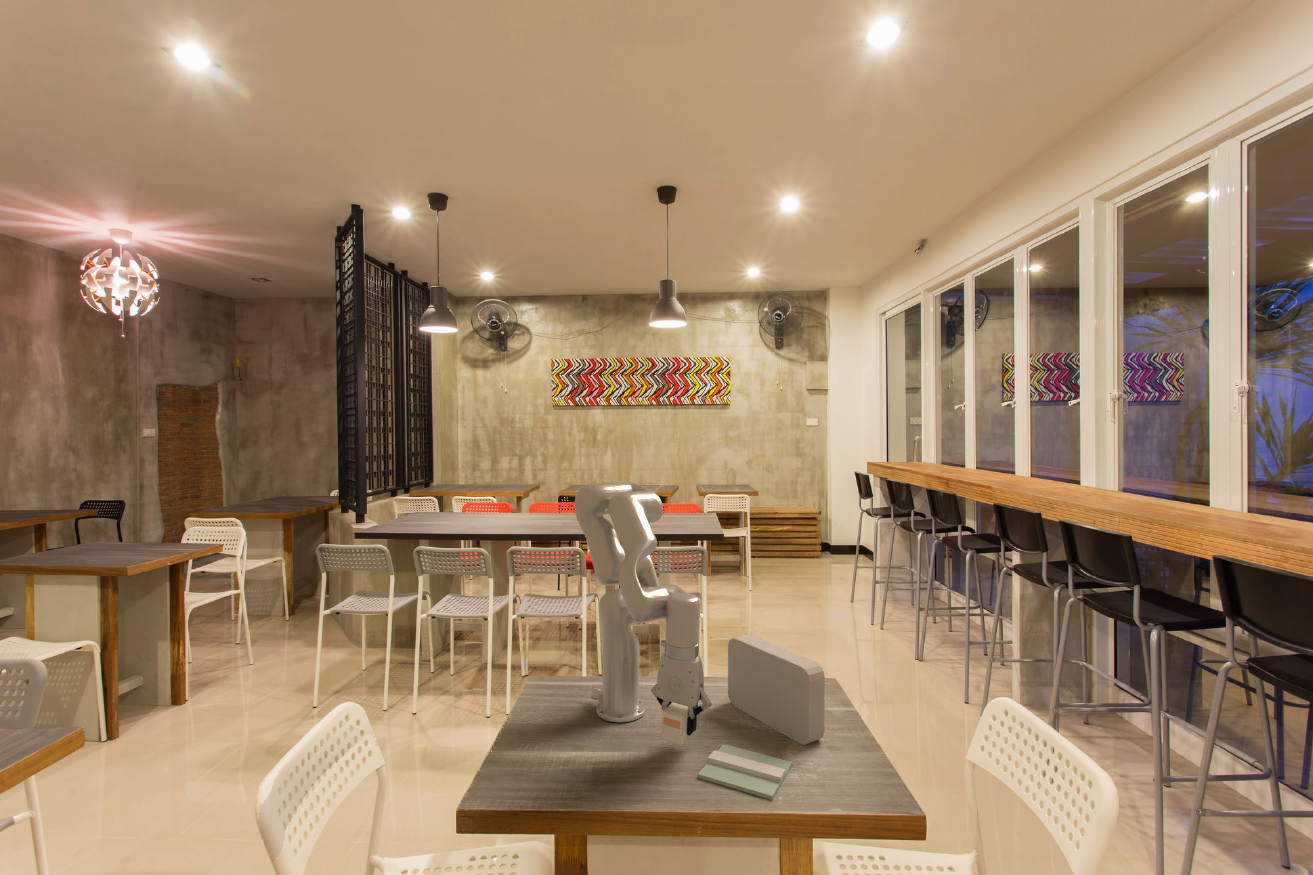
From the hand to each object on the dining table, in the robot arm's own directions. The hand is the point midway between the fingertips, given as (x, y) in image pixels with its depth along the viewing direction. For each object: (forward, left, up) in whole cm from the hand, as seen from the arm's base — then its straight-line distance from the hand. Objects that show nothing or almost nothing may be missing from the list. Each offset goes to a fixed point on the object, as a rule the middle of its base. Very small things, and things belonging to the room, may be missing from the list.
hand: (679, 728), depth 136 cm
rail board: (+16, 0, -5) cm, 17 cm away
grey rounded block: (+14, +25, -6) cm, 29 cm away
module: (0, 0, -1) cm, 1 cm away
